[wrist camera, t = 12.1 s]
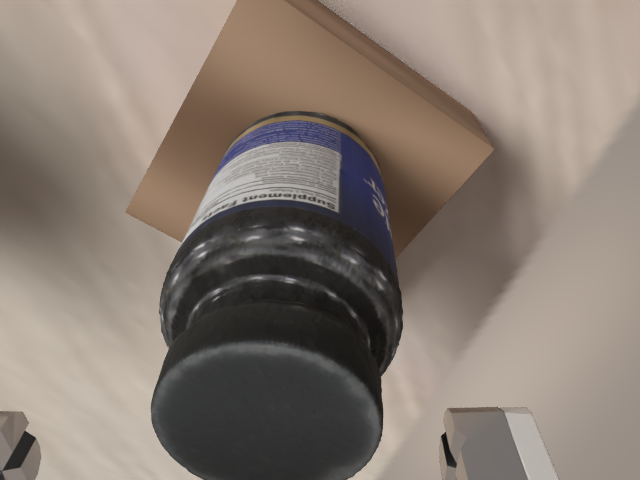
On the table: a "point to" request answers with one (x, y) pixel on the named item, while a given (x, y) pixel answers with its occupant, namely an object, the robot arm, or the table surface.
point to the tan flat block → (312, 96)
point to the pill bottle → (281, 309)
